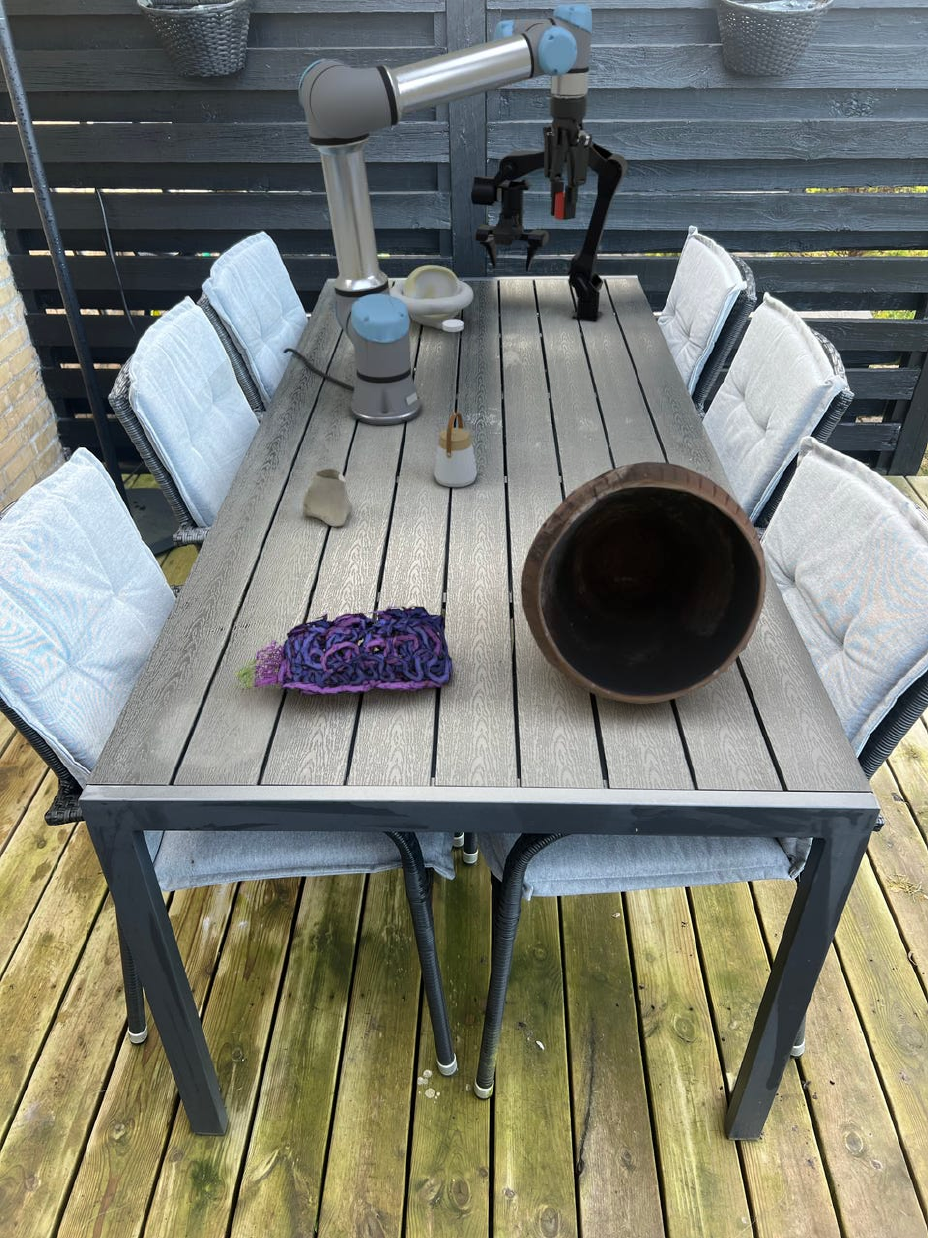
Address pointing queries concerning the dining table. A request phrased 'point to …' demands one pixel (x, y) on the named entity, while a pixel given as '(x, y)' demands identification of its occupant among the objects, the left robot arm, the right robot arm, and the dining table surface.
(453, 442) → the pendant light
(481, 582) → the dining table surface
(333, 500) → the bone
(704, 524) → the pot
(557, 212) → the can
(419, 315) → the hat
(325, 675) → the decorative ornament
